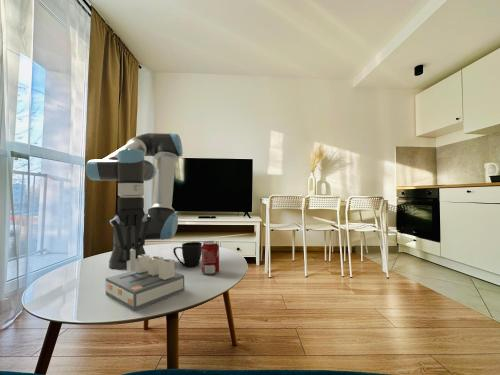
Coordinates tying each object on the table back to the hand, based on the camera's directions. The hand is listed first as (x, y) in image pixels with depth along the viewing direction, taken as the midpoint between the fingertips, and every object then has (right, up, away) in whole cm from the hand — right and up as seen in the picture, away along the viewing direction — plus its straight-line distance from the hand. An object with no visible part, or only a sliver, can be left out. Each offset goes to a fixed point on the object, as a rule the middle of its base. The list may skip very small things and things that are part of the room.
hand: (131, 269), depth 77 cm
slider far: (+2, -1, +3) cm, 4 cm away
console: (+5, -7, -2) cm, 9 cm away
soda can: (+23, -7, +16) cm, 29 cm away
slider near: (+13, -1, -3) cm, 13 cm away
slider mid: (+8, -1, 0) cm, 8 cm away
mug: (+12, -7, +25) cm, 29 cm away
